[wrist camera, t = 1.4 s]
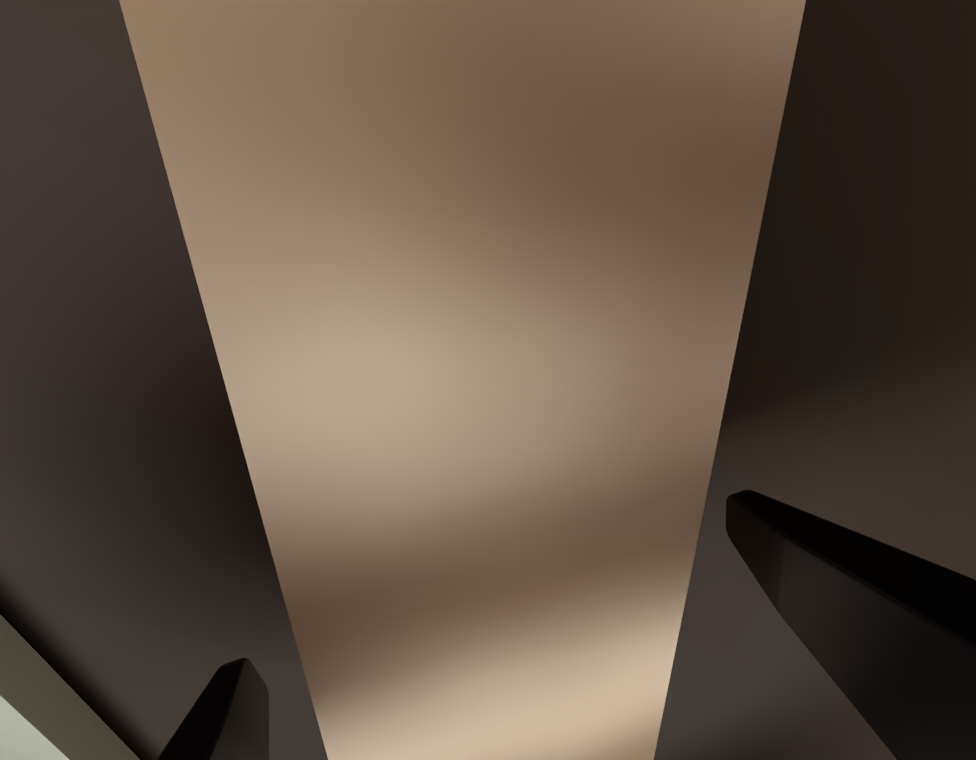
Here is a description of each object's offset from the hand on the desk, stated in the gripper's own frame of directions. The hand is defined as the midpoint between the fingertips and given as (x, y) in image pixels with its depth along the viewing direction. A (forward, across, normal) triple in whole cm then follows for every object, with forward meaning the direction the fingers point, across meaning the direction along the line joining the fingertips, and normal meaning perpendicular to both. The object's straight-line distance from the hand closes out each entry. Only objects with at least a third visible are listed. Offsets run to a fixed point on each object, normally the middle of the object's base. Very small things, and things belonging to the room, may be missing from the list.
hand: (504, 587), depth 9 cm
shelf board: (+3, 0, 0) cm, 3 cm away
